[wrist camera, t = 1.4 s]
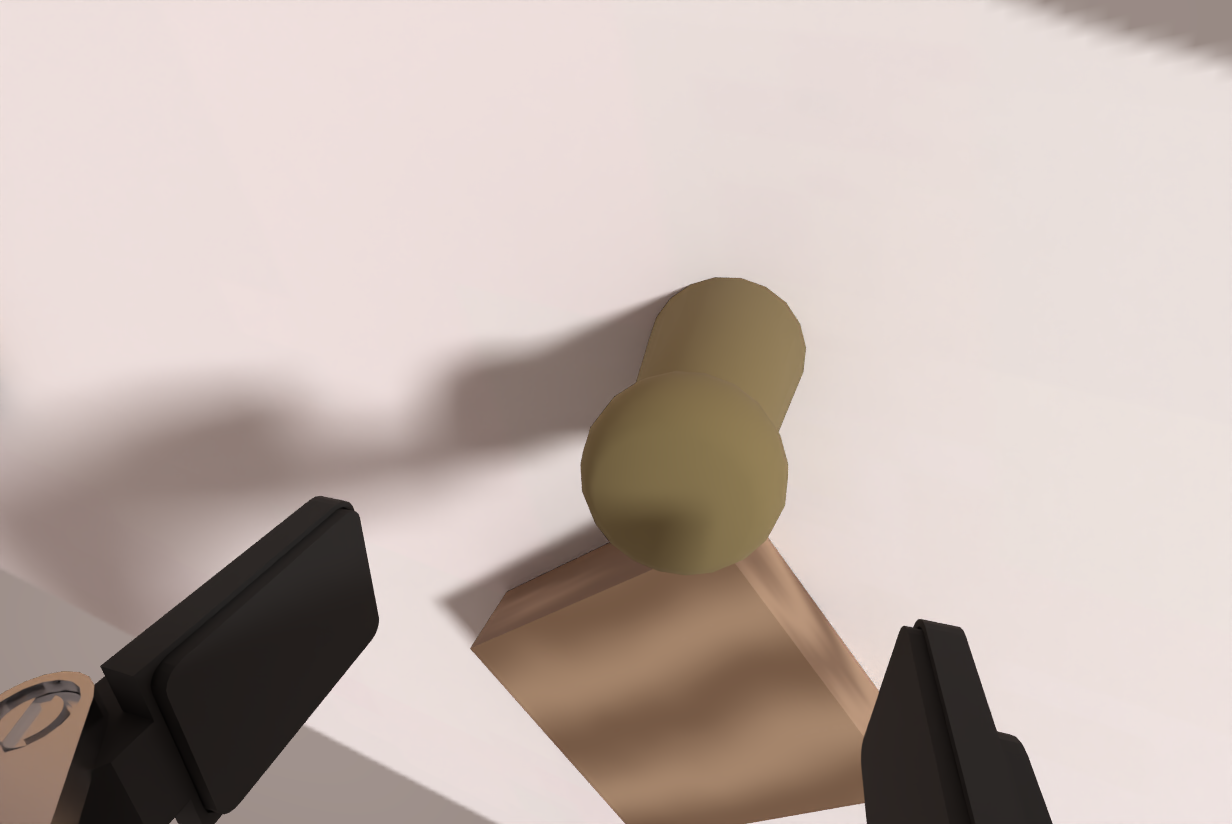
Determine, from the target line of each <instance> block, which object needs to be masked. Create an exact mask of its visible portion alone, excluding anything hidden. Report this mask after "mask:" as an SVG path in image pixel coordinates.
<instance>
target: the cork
mask: <svg viewBox="0 0 1232 824" xmlns="http://www.w3.org/2000/svg"><path fill="white" fill-rule="evenodd" d="M805 352H806V346H805V342H804V338H803V334H802V330H801V326H800V323H799V322H798V320H797V319H796V317H795V315H794V314H793V312H792V311H791V309H790V308H789V306H788V305H787V303H786V302H784V301H783V300H782V299H781V298H779V297H778V296H777V295H775V294H774V293H773V292H772V291H770V290H769V289H768V288H766V287H764V286H762V285H759V284H756V283H753V282H750V281H748V280H745V279H742V278H718V277H715V278H711V279H708V280H705V281H701V282H698V283H694V284H691V285H689V286H688V287H686V288H685V289H684V290H682V291H681V292H679V293H678V294H676V295H675V296H673V297H672V298H670V300H669V301H668V302H667V304H666V305H665V306H664V308H663V309H662V310H661V312H660V313H659V314H658V316H657V317H656V320H655V323H654V326H653V329H652V332H651V335H650V338H649V341H648V345H647V348H646V351H645V355H644V358H643V361H642V365H641V368H640V371H639V374H638V378H637V381H636V383H635V384H634V385H632V386H630V387H629V388H627V389H626V390H624V391H622V392H621V393H619V394H618V395H616V396H614V398H613V399H612V400H611V402H610V403H609V404H608V405H607V407H606V408H605V409H604V411H603V412H602V413H601V414H600V416H599V417H598V418H597V420H596V421H595V422H594V424H593V425H592V426H591V427H590V430H589V434H588V437H587V440H586V444H585V447H584V450H583V454H582V459H581V481H582V492H583V495H584V497H585V500H586V502H587V504H588V507H589V509H590V512H591V514H592V517H593V519H594V521H595V523H596V525H597V526H598V528H599V529H600V530H601V531H602V533H603V534H604V535H605V536H606V538H607V539H608V540H609V541H610V543H611V544H612V545H613V546H615V547H616V548H617V549H619V550H620V551H621V552H623V553H624V554H625V555H627V556H628V557H629V558H631V559H632V560H633V561H636V562H638V563H640V564H643V565H645V566H647V567H650V568H652V569H655V570H657V571H660V572H667V573H673V574H679V575H695V574H705V573H713V572H715V571H718V570H720V569H722V568H725V567H727V566H730V565H732V564H735V563H737V562H739V561H741V560H744V559H745V558H747V557H748V556H749V555H750V554H751V553H752V552H754V551H755V550H756V549H757V548H758V547H759V546H760V545H762V544H763V543H764V542H765V541H766V540H767V538H768V536H769V534H770V533H771V531H772V529H773V527H774V525H775V523H776V521H777V519H778V518H779V516H780V514H781V512H782V510H783V508H784V506H785V500H786V490H787V480H788V462H787V459H786V455H785V451H784V448H783V444H782V440H781V437H780V434H779V430H780V427H781V425H782V422H783V420H784V417H785V415H786V413H787V410H788V408H789V405H790V403H791V400H792V398H793V396H794V393H795V391H796V388H797V386H798V383H799V381H800V379H801V376H802V374H803V370H804V361H805Z"/></svg>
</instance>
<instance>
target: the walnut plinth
mask: <svg viewBox="0 0 1232 824" xmlns="http://www.w3.org/2000/svg"><path fill="white" fill-rule="evenodd" d="M470 649H471V650H472V651H473V652H474V653H475V654H476V656H477V657H478V658H479V659H480V660H481V661H482V662H483V663H484V665H485V666H486V667H487V668H488V669H489V670H490V671H491V672H492V674H493V675H494V676H495V677H496V678H497V679H498V680H499V682H500V683H501V684H502V685H503V686H504V687H505V688H506V689H507V691H508V692H509V693H510V694H511V695H512V696H513V697H514V698H515V700H516V701H517V702H518V703H519V704H520V705H521V706H522V708H523V709H524V710H525V711H526V712H527V713H528V714H529V715H530V717H531V718H532V719H533V720H534V721H535V722H536V723H537V724H538V726H539V727H540V728H541V729H542V730H543V731H544V732H545V734H546V735H547V736H548V737H549V738H550V739H551V740H552V741H553V743H554V744H555V745H556V746H557V747H558V748H559V749H560V750H561V752H562V753H563V754H564V755H565V756H566V757H567V758H568V760H569V761H570V762H571V763H572V764H573V765H574V766H575V767H576V769H577V770H578V771H579V772H580V773H581V774H582V775H583V776H584V778H585V779H586V780H587V781H588V782H589V783H590V784H591V785H592V787H593V788H594V789H595V790H596V791H597V792H598V793H599V795H600V796H601V797H602V798H603V799H604V800H605V801H606V802H607V804H608V805H609V806H610V807H611V808H612V809H613V810H614V811H615V813H616V814H617V815H618V816H619V817H620V818H621V819H622V821H623V822H624V823H625V824H747V823H753V822H759V821H764V820H770V819H776V818H781V817H787V816H793V815H799V814H804V813H810V812H816V811H821V810H827V809H833V808H839V807H844V806H850V805H856V804H861V803H865V800H864V790H863V780H862V770H861V748H862V742H863V738H864V735H865V732H866V729H867V726H868V723H869V720H870V717H871V714H872V711H873V708H874V706H875V703H876V700H877V697H878V694H879V691H878V689H877V688H876V687H875V685H874V684H873V682H872V681H871V680H870V678H869V677H868V676H867V674H866V673H865V671H864V670H863V669H862V667H861V666H860V664H859V663H858V662H857V660H856V659H855V658H854V656H853V655H852V653H851V652H850V651H849V649H848V648H847V646H846V645H845V644H844V642H843V641H842V640H841V638H840V637H839V635H838V634H837V633H836V631H835V630H834V628H833V627H832V626H831V624H830V623H829V622H828V620H827V619H826V617H825V616H824V615H823V613H822V612H821V610H820V609H819V608H818V606H817V605H816V603H815V602H814V601H813V599H812V598H811V597H810V595H809V594H808V592H807V591H806V590H805V588H804V587H803V585H802V584H801V583H800V581H799V580H798V579H797V577H796V576H795V574H794V573H793V572H792V570H791V569H790V567H789V566H788V565H787V563H786V562H785V561H784V559H783V558H782V556H781V555H780V554H779V552H778V551H777V549H776V548H775V547H774V545H773V544H772V543H771V541H770V540H769V538H767V540H766V541H765V542H764V543H763V544H762V545H760V546H759V547H758V548H757V549H756V550H755V551H754V552H752V553H751V554H750V555H749V556H748V557H747V558H745V559H744V560H741V561H739V562H737V563H735V564H732V565H730V566H727V567H725V568H722V569H720V570H718V571H715V572H713V573H705V574H695V575H679V574H673V573H667V572H660V571H657V570H655V569H652V568H650V567H647V566H645V565H643V564H640V563H638V562H636V561H633V560H632V559H631V558H629V557H628V556H627V555H625V554H624V553H623V552H621V551H620V550H619V549H617V548H616V547H615V546H613V545H612V544H611V543H608V544H606V545H604V546H601V547H599V548H597V549H595V550H593V551H591V552H589V553H587V554H585V555H583V556H581V557H579V558H576V559H574V560H572V561H570V562H568V563H566V564H564V565H562V566H560V567H558V568H556V569H553V570H551V571H549V572H547V573H545V574H543V575H541V576H539V577H537V578H535V579H533V580H530V581H528V582H526V583H524V584H522V585H520V586H518V587H516V588H514V589H512V590H510V591H507V592H506V594H505V595H504V597H503V598H502V600H501V601H500V603H499V604H498V606H497V608H496V609H495V611H494V612H493V614H492V615H491V617H490V618H489V620H488V622H487V623H486V625H485V626H484V628H483V629H482V631H481V632H480V634H479V636H478V637H477V639H476V640H475V642H474V643H473V645H472V646H471V648H470Z"/></svg>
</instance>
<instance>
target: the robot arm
mask: <svg viewBox="0 0 1232 824" xmlns="http://www.w3.org/2000/svg"><path fill="white" fill-rule="evenodd" d="M378 624H379V616H378V611H377V605H376V600H375V595H374V590H373V584H372V579H371V574H370V569H369V563H368V558H367V553H366V548H365V542H364V537H363V532H362V527H361V521H360V517H359V514H358V513H357V512H355V511H354V509H353V506H352V505H351V504H350V503H349V502H347V501H343V500H338V499H333V498H328V497H323V496H317V497H314V498H312V499H311V500H309V501H308V502H307V503H305V504H304V505H303V506H302V507H300V508H299V509H298V510H297V511H295V512H294V513H293V514H292V515H290V516H289V517H288V518H287V519H285V520H284V521H283V522H282V523H280V524H279V525H278V526H276V527H275V528H274V529H273V530H271V531H270V532H269V533H268V534H266V535H265V536H264V537H263V538H261V539H260V540H259V541H258V542H256V543H255V544H254V545H252V546H251V547H250V548H249V549H247V550H246V551H245V552H244V553H242V554H241V555H240V556H239V557H237V558H236V559H235V560H234V561H232V562H231V563H230V564H228V565H227V566H226V567H225V568H223V569H222V570H221V571H220V572H218V573H217V574H216V575H215V576H213V577H212V578H211V579H210V580H208V581H207V582H206V583H204V584H203V585H202V586H201V587H199V588H198V589H197V590H196V591H194V592H193V593H192V594H191V595H189V596H188V597H187V598H186V599H184V600H183V601H182V602H181V603H179V604H178V605H177V606H175V607H174V608H173V609H172V610H170V611H169V612H168V613H167V614H165V615H164V616H163V617H162V618H160V619H159V620H158V621H157V622H155V623H154V624H153V625H151V626H150V627H149V628H148V629H146V630H145V631H144V632H143V633H141V634H140V635H139V636H138V637H136V638H135V639H134V640H133V641H131V642H130V643H129V644H127V645H126V646H125V647H124V648H122V649H121V650H120V651H119V652H117V653H116V654H115V655H114V656H112V657H111V658H110V659H109V660H107V661H106V662H105V663H104V664H102V665H101V666H100V667H101V668H102V671H103V673H104V675H105V677H103V678H102V679H101V680H100V681H99V682H97V683H96V684H95V685H94V684H93V682H92V680H91V679H90V677H89V676H87V675H85V674H82V673H80V672H70V671H62V672H57V673H51V674H45V675H42V676H39V677H36V678H33V679H30V680H28V681H25V682H23V683H21V684H19V685H17V686H15V687H13V688H11V689H9V690H7V691H5V692H3V693H2V694H0V824H169V823H170V822H171V821H172V820H173V819H174V818H176V820H177V822H178V823H179V824H215V823H216V822H217V820H218V819H219V818H220V817H221V815H222V814H227V813H229V812H231V811H232V810H233V809H235V808H236V807H237V806H238V804H239V803H240V802H241V801H242V800H243V799H244V797H245V796H246V795H247V794H248V792H249V791H250V790H251V788H252V787H253V786H254V785H255V784H256V782H257V781H258V780H259V779H260V777H261V776H262V775H263V774H264V772H265V771H266V770H267V769H268V768H269V766H270V765H271V764H272V763H273V761H274V760H275V759H276V758H277V756H278V755H279V754H280V753H281V752H282V750H283V749H284V747H286V745H287V744H288V743H289V741H290V740H291V739H292V738H293V737H294V735H295V734H296V733H297V732H298V730H299V729H300V728H301V727H302V726H303V724H304V723H305V722H306V721H307V719H308V718H309V717H310V716H311V714H312V713H313V712H314V711H315V709H316V708H317V707H318V706H319V704H320V703H321V702H322V701H323V700H324V698H325V697H326V696H327V695H328V693H329V692H330V691H331V690H332V688H333V687H334V686H335V685H336V683H337V682H338V681H339V680H340V678H341V677H342V676H343V675H344V674H345V672H346V671H347V670H348V669H349V667H350V666H351V665H352V664H353V662H354V661H355V660H356V659H357V657H358V656H359V655H360V654H361V652H362V651H363V650H364V649H365V648H366V646H367V645H368V644H369V643H370V641H371V640H372V639H373V637H374V636H375V634H376V631H377V628H378ZM861 770H862V780H863V790H864V800H865V810H866V819H867V824H1052V821H1051V818H1050V815H1049V813H1048V810H1047V807H1046V804H1045V802H1044V799H1043V796H1042V793H1041V791H1040V788H1039V785H1038V782H1037V780H1036V777H1035V774H1034V771H1033V769H1032V766H1031V763H1030V760H1029V757H1028V755H1027V753H1026V751H1025V749H1024V747H1023V745H1022V743H1021V742H1020V741H1019V740H1018V739H1017V737H1015V736H1013V735H1010V734H1006V733H1002V732H998V731H997V730H996V727H995V724H994V721H993V718H992V715H991V712H990V709H989V706H988V703H987V700H986V697H985V694H984V690H983V687H982V684H981V681H980V678H979V675H978V672H977V669H976V666H975V663H974V660H973V657H972V654H971V651H970V648H969V645H968V641H967V638H966V636H965V633H964V631H963V630H962V629H961V628H960V627H957V626H952V625H947V624H942V623H937V622H932V621H927V620H922V619H918V620H917V621H916V622H915V625H914V627H913V628H912V627H908V626H903V627H902V628H901V629H900V632H899V634H898V637H897V640H896V643H895V646H894V649H893V652H892V655H891V658H890V661H889V664H888V667H887V670H886V673H885V676H884V679H883V682H882V685H881V688H880V691H879V694H878V697H877V700H876V703H875V706H874V708H873V711H872V714H871V717H870V720H869V723H868V726H867V729H866V732H865V735H864V738H863V742H862V748H861Z"/></svg>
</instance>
